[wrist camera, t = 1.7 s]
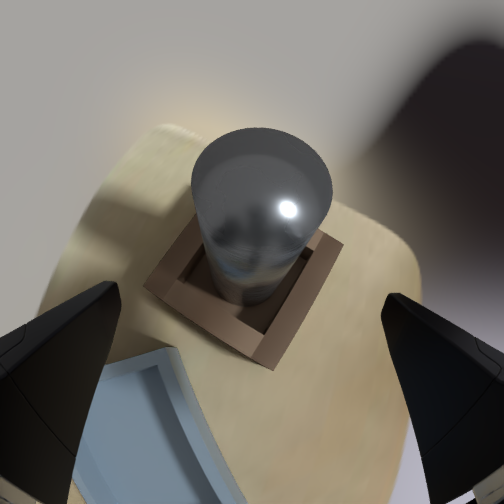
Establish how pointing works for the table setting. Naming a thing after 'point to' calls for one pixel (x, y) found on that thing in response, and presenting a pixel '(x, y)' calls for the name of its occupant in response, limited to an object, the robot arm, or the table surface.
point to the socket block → (235, 317)
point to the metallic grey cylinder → (257, 209)
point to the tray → (150, 439)
